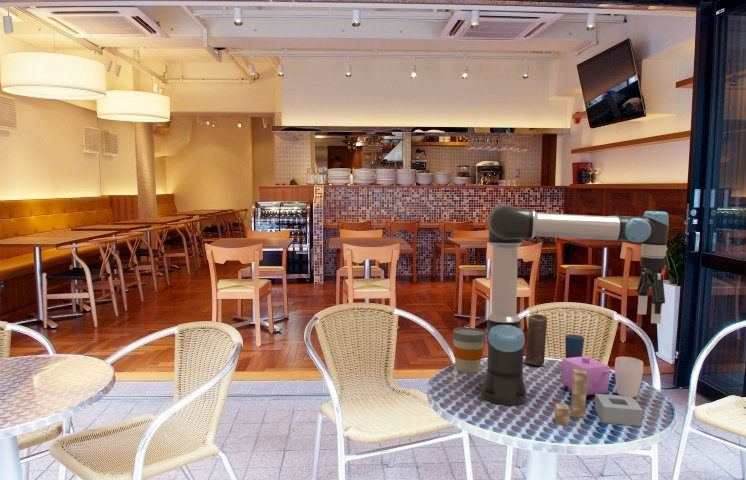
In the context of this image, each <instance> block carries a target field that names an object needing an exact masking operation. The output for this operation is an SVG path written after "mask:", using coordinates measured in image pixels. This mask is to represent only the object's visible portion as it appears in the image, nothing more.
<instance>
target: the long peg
mask: <svg viewBox="0 0 746 480" xmlns="http://www.w3.org/2000/svg"><path fill="white" fill-rule="evenodd" d="M586 389H587V372H586V371H585V370H576V369H573V382H572V391H571V402H570V414H571V417H573V418H574V417H575V418H582V419H583V418H586V417H585V416H586V402H587V397H586V396H587V395H586Z"/></svg>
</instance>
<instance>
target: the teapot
mask: <svg viewBox="0 0 746 480" xmlns="http://www.w3.org/2000/svg"><path fill="white" fill-rule="evenodd" d="M561 362H562V363H561V378H560V379H561V380H560V384H562V385H563V386H565V387H567V391H568V390H569V392H572V382H573V369H576V370H585V371H586V372H587V389H586V398H587V396H590V395H594V396H595V394H606V393H607V394H608V393H609V384H610V373H611V371H610V368H611V367H610V366H609V365H608V364H605V363H602V362H601V361H598V360H595V359H594V358H591V357H590V356H585V355H584V356H583V355H582V357H573V358H566V357H565V358H564V357H563V358H562V361H561Z"/></svg>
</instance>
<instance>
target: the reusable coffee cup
mask: <svg viewBox="0 0 746 480" xmlns="http://www.w3.org/2000/svg"><path fill="white" fill-rule="evenodd" d="M485 333H486V332H485V331H484V330H482V329H480V328H476V327H475V328H474V327H467V326H466V327H456V328H454V329H453V332H452V337H451V338H452V340H453V341H452V342H453V343H452V350H453V351H452V352H453V353H452V354H453V357H454V363H455V369H456V370H457V371H459V372H462V373H467V374H468V373H470V374H471V373H472V374H473V373H478V372H479V371H480V367H481V366H480V364H481V360H482V359H483V355H484V349H485V346H484V344H485V343H484V342H485V340H486V336H485V335H486V334H485Z"/></svg>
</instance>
